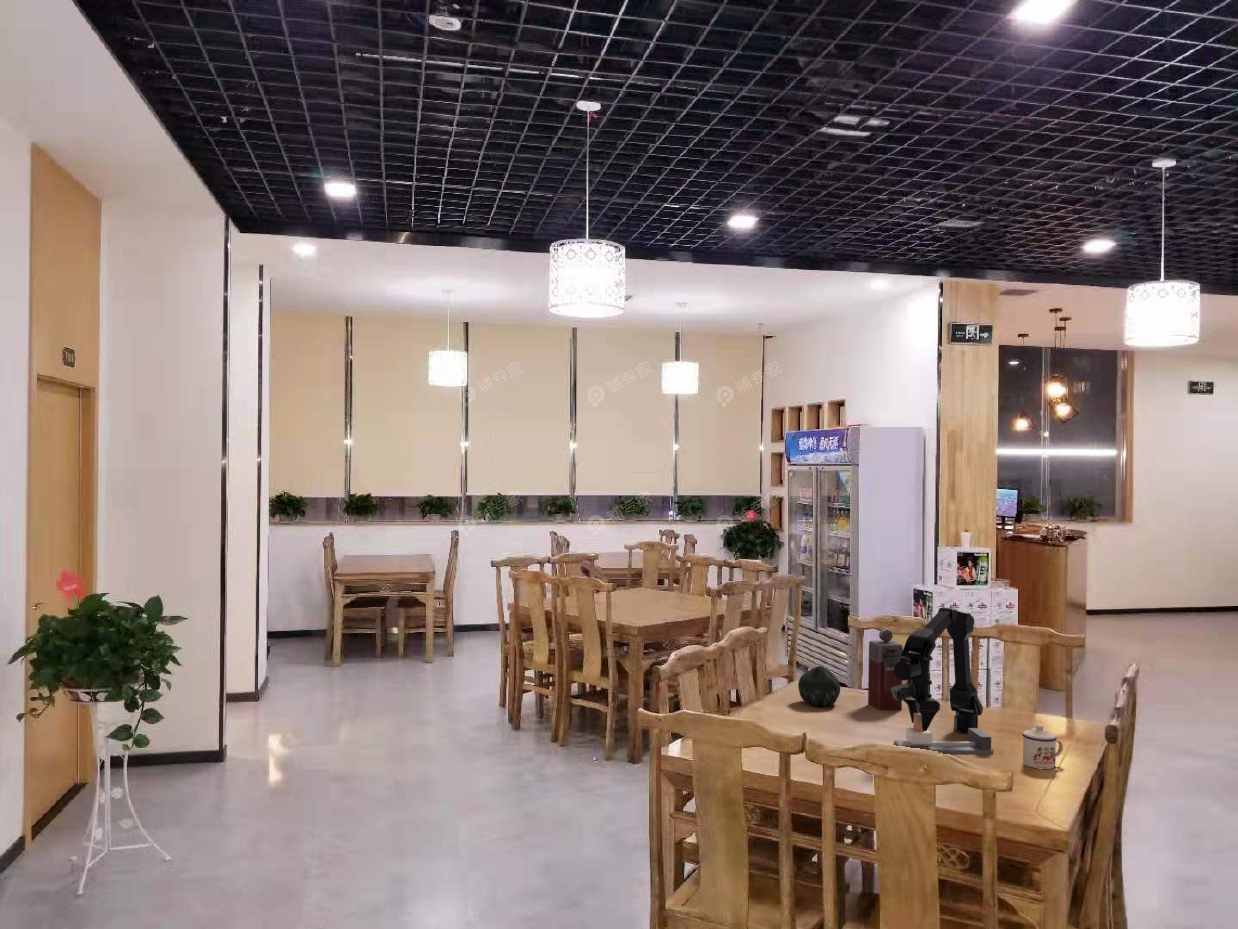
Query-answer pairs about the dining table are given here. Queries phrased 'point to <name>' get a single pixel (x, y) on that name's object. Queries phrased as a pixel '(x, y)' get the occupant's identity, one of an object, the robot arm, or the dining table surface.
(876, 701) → the square decanter bottle
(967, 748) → the track
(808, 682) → the squash
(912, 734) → the keeper
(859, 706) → the dining table surface
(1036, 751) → the teacup with lid
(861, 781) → the dining table surface
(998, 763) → the dining table surface
